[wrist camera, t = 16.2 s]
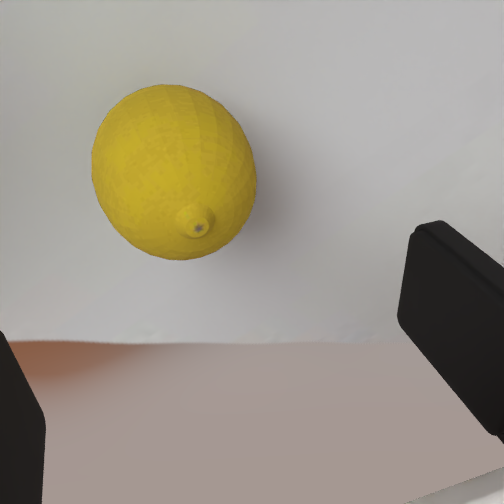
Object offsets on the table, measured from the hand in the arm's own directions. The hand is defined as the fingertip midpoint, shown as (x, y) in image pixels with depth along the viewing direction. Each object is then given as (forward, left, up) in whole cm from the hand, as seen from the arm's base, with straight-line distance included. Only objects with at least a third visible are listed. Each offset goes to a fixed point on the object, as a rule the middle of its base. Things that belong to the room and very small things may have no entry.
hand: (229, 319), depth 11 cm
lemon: (0, 0, -12) cm, 12 cm away
